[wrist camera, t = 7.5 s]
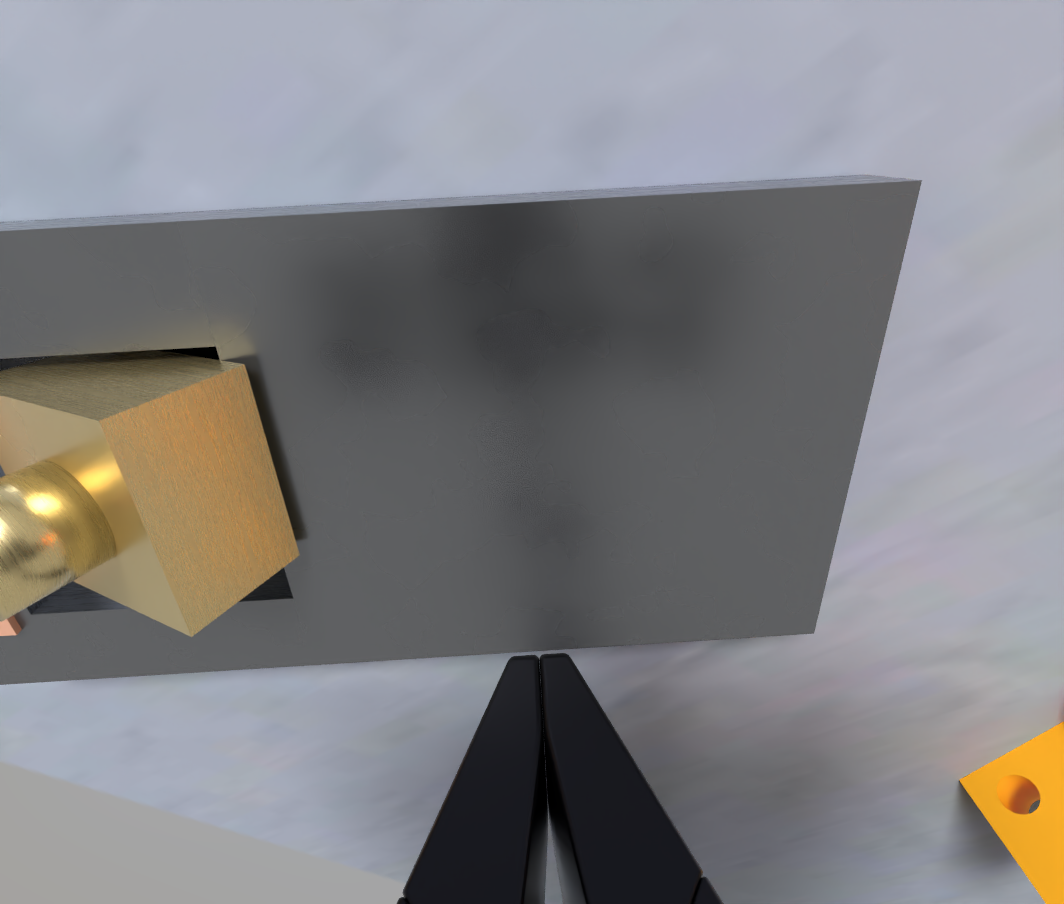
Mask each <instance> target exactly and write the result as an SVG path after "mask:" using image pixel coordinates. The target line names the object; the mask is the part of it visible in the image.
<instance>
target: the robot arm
mask: <svg viewBox="0 0 1064 904" xmlns="http://www.w3.org/2000/svg"><path fill="white" fill-rule="evenodd" d="M539 661H540V667H539ZM540 679H541V683H540ZM541 696H542V699H541ZM542 713H543V715H542ZM543 729H544V732H543ZM544 746H545V749H544ZM545 762H546V767H545ZM546 779H547V784H546ZM547 795H548V802H547ZM548 808H549V819H550V826H551V833H552V840H553V845H554V851H555V857H556V863H557V869H558V874H559V880H560V886H561V892H562V897H563V903H564V904H723V902H722V901H721V899H720V897H719V896H718V894H717V893H716V891H715V889H714V888H713V886H712V884H711V883H710V881H709V880H708V878H706V877H702V875H703V871H702V869H701V867H700V866H699V864H698V862H697V861H696V859H695V858H694V856H693V854H692V853H691V851H690V850H689V848H688V846H687V845H686V843H685V841H684V840H683V838H682V837H681V835H680V833H679V832H678V830H677V829H676V827H675V825H674V824H673V822H672V820H671V819H670V817H669V816H668V814H667V812H666V811H665V809H664V808H663V806H662V804H661V803H660V801H659V800H658V798H657V796H656V795H655V793H654V791H653V790H652V788H651V787H650V785H649V783H648V782H647V780H646V779H645V777H644V775H643V774H642V772H641V770H640V769H639V767H638V766H637V764H636V762H635V761H634V759H633V758H632V756H631V754H630V753H629V751H628V749H627V748H626V746H625V745H624V743H623V741H622V740H621V738H620V737H619V735H618V733H617V732H616V730H615V729H614V727H613V725H612V724H611V722H610V720H609V719H608V717H607V716H606V714H605V712H604V711H603V709H602V708H601V706H600V704H599V703H598V701H597V699H596V698H595V696H594V695H593V693H592V691H591V690H590V688H589V687H588V685H587V683H586V682H585V680H584V679H583V677H582V675H581V674H580V672H579V670H578V669H577V667H576V666H575V664H574V662H573V661H572V659H571V658H570V657H569V655H567V654H566V653H557V654H544V655H542V656H541V657H540V660H539V658H538V657H537V656H536V655H526V656H514V657H511V658H510V659H509V661H508V663H507V665H506V667H505V669H504V671H503V673H502V676H501V678H500V680H499V682H498V684H497V686H496V689H495V691H494V693H493V695H492V697H491V700H490V702H489V704H488V706H487V708H486V710H485V713H484V715H483V717H482V719H481V721H480V724H479V726H478V728H477V730H476V732H475V734H474V737H473V739H472V741H471V743H470V745H469V748H468V750H467V752H466V754H465V756H464V758H463V761H462V763H461V765H460V767H459V769H458V772H457V774H456V776H455V778H454V780H453V782H452V785H451V787H450V789H449V791H448V793H447V796H446V798H445V800H444V802H443V804H442V806H441V809H440V811H439V813H438V815H437V817H436V820H435V822H434V824H433V826H432V828H431V830H430V833H429V835H428V837H427V839H426V841H425V844H424V846H423V848H422V850H421V852H420V854H419V857H418V859H417V861H416V863H415V865H414V868H413V870H412V872H411V874H410V876H409V878H408V881H407V883H406V885H405V887H404V889H403V895H404V897H401V898H399V900H398V902H397V904H544V901H545V881H546V861H547V841H548Z"/></svg>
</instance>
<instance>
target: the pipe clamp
mask: <svg viewBox="0 0 1064 904" xmlns="http://www.w3.org/2000/svg"><path fill="white" fill-rule="evenodd" d="M959 781H960V782H961V784H962V785H963V786H964V788H965V789H966V791H967V792H968V794H969V795H970V796H971V798H972V799H973V801H974V802H975V803H976V805H977V806H978V808H979V809H980V811H981V812H982V813H983V815H984V816H985V818H986V819H987V821H988V822H989V823H990V825H991V826H992V828H993V829H994V830H995V832H996V833H997V835H998V836H999V838H1000V839H1001V840H1002V842H1003V843H1004V845H1005V846H1006V847H1007V849H1008V850H1009V852H1010V853H1011V855H1012V856H1013V857H1014V859H1015V860H1016V862H1017V863H1018V864H1019V866H1020V867H1021V869H1022V870H1023V872H1024V873H1025V874H1026V876H1027V877H1028V879H1029V880H1030V881H1031V883H1032V884H1033V886H1034V887H1035V889H1036V890H1037V891H1038V893H1039V894H1040V896H1041V897H1042V898H1043V900H1044V901H1045V903H1046V904H1064V722H1062V723H1060V724H1058V725H1057V726H1055V727H1053V728H1051V729H1049V730H1048V731H1046V732H1044V733H1042V734H1040V735H1039V736H1037V737H1035V738H1033V739H1032V740H1030V741H1028V742H1026V743H1024V744H1023V745H1021V746H1019V747H1017V748H1015V749H1014V750H1012V751H1010V752H1008V753H1007V754H1005V755H1003V756H1001V757H999V758H998V759H996V760H994V761H992V762H990V763H989V764H987V765H985V766H983V767H982V768H980V769H978V770H976V771H974V772H973V773H971V774H969V775H967V776H965V777H964V778H962V779H960V780H959ZM1037 800H1040V804H1039V807H1038V808H1037V809H1036V810H1035V811H1034V812H1032V813H1030V814H1029V809H1030V807H1031V805H1032V804H1033V803H1034V802H1035V801H1037Z"/></svg>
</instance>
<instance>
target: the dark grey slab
mask: <svg viewBox="0 0 1064 904" xmlns="http://www.w3.org/2000/svg"><path fill="white" fill-rule="evenodd" d="M921 181H922V180H913V179H902V178H892V177H882V176H872V175H857V176H839V177H820V178H802V179H784V180H766V181H747V182H729V183H711V184H693V185H675V186H656V187H638V188H620V189H602V190H583V191H565V192H547V193H529V194H510V195H492V196H474V197H456V198H438V199H419V200H401V201H383V202H365V203H346V204H328V205H310V206H292V207H273V208H255V209H237V210H219V211H201V212H182V213H164V214H146V215H128V216H109V217H91V218H73V219H55V220H36V221H18V222H0V359H6V358H23V357H41V356H58V355H75V354H93V353H110V352H128V351H145V350H163V349H180V348H198V347H215V346H216V349H217V352H218V356H219V359H220V360H221V361H227V362H233V363H239V364H245V367H246V370H247V374H248V377H249V381H250V384H251V388H252V391H253V395H254V398H255V402H256V405H257V409H258V412H259V416H260V419H261V422H262V426H263V429H264V433H265V436H266V440H267V443H268V447H269V450H270V454H271V457H272V461H273V464H274V468H275V471H276V475H277V478H278V482H279V485H280V488H281V492H282V495H283V499H284V502H285V506H286V509H287V513H288V516H289V520H290V523H291V527H292V530H293V534H294V537H295V541H296V544H297V547H298V551H299V554H300V555H299V556H298V557H297V558H295V559H294V560H293V561H291V562H290V563H289V564H287V565H286V566H285V567H284V568H282V569H281V570H280V571H278V572H277V573H276V574H274V575H273V576H272V577H270V578H269V579H268V580H266V581H265V582H264V583H262V584H261V585H260V586H258V587H257V588H256V589H254V590H253V591H252V592H250V593H249V594H248V595H246V596H245V597H244V598H243V599H241V600H240V601H239V602H237V603H236V604H235V605H233V606H232V607H231V608H229V609H228V610H227V611H225V612H224V613H223V614H221V615H220V616H219V617H217V618H216V619H215V620H213V621H212V622H211V623H209V624H208V625H207V626H205V627H204V628H203V629H202V630H200V631H199V632H198V633H196V634H195V635H194V636H192V637H190V636H188V635H186V634H184V633H182V632H180V631H178V630H175V629H173V628H171V627H169V626H167V625H165V624H163V623H161V622H159V621H156V620H154V619H152V618H150V617H148V616H146V615H144V614H142V613H139V612H137V611H135V610H133V609H131V608H129V607H127V606H125V605H122V604H120V603H118V602H116V601H114V600H112V599H110V598H108V597H105V596H103V595H101V594H99V593H97V592H95V591H93V590H91V589H88V588H86V587H84V586H82V585H80V584H78V583H76V582H74V581H72V582H70V583H68V584H67V585H65V586H63V587H62V588H60V589H58V590H56V591H55V592H53V593H51V594H49V595H48V596H46V597H44V598H42V599H41V600H39V601H37V602H35V603H34V604H32V605H30V606H28V607H27V608H25V609H23V610H21V611H20V612H18V613H16V614H15V615H13V616H11V617H9V618H8V619H6V620H4V621H1V622H0V685H4V684H20V683H36V682H52V681H68V680H83V679H99V678H115V677H131V676H147V675H163V674H179V673H194V672H210V671H226V670H242V669H258V668H274V667H290V666H305V665H321V664H337V663H353V662H369V661H385V660H401V659H417V658H432V657H448V656H464V655H480V654H496V653H512V652H528V651H543V650H559V649H575V648H591V647H607V646H623V645H639V644H655V643H670V642H686V641H702V640H718V639H734V638H750V637H766V636H781V635H797V634H813V633H814V631H815V627H816V622H817V618H818V614H819V610H820V606H821V601H822V597H823V593H824V589H825V585H826V580H827V576H828V572H829V568H830V564H831V559H832V555H833V551H834V547H835V543H836V538H837V534H838V530H839V526H840V522H841V517H842V513H843V509H844V505H845V501H846V496H847V492H848V488H849V484H850V480H851V475H852V471H853V467H854V463H855V459H856V454H857V450H858V446H859V442H860V438H861V433H862V429H863V425H864V421H865V417H866V412H867V408H868V404H869V400H870V396H871V391H872V387H873V383H874V379H875V375H876V370H877V366H878V362H879V358H880V354H881V349H882V345H883V341H884V337H885V333H886V328H887V324H888V320H889V316H890V312H891V307H892V303H893V299H894V295H895V291H896V286H897V282H898V278H899V274H900V270H901V265H902V261H903V257H904V253H905V249H906V244H907V240H908V236H909V232H910V228H911V223H912V219H913V215H914V211H915V207H916V202H917V198H918V194H919V190H920V186H921ZM2 476H5V473H4V471H3V469H2V467H1V465H0V477H2Z"/></svg>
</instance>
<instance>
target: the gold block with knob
mask: <svg viewBox="0 0 1064 904" xmlns="http://www.w3.org/2000/svg"><path fill="white" fill-rule="evenodd" d="M0 465H1V467H2V469H3V471H4V473H5V476H2V477H0V622H1V621H4V620H6V619H8V618H9V617H11V616H13V615H15V614H16V613H18V612H20V611H21V610H23V609H25V608H27V607H28V606H30V605H32V604H34V603H35V602H37V601H39V600H41V599H42V598H44V597H46V596H48V595H49V594H51V593H53V592H55V591H56V590H58V589H60V588H62V587H63V586H65V585H67V584H68V583H70V582H72V581H74V582H76V583H78V584H80V585H82V586H84V587H86V588H88V589H91V590H93V591H95V592H97V593H99V594H101V595H103V596H105V597H108V598H110V599H112V600H114V601H116V602H118V603H120V604H122V605H125V606H127V607H129V608H131V609H133V610H135V611H137V612H139V613H142V614H144V615H146V616H148V617H150V618H152V619H154V620H156V621H159V622H161V623H163V624H165V625H167V626H169V627H171V628H173V629H175V630H178V631H180V632H182V633H184V634H186V635H188V636H190V637H192V636H194V635H195V634H196V633H198V632H199V631H200V630H202V629H203V628H204V627H205V626H207V625H208V624H209V623H211V622H212V621H213V620H215V619H216V618H217V617H219V616H220V615H221V614H223V613H224V612H225V611H227V610H228V609H229V608H231V607H232V606H233V605H235V604H236V603H237V602H239V601H240V600H241V599H243V598H244V597H245V596H246V595H248V594H249V593H250V592H252V591H253V590H254V589H256V588H257V587H258V586H260V585H261V584H262V583H264V582H265V581H266V580H268V579H269V578H270V577H272V576H273V575H274V574H276V573H277V572H278V571H280V570H281V569H282V568H284V567H285V566H286V565H287V564H289V563H290V562H291V561H293V560H294V559H295V558H297V557H298V556H299V555H300V554H299V551H298V547H297V544H296V541H295V537H294V534H293V530H292V527H291V523H290V520H289V516H288V513H287V509H286V506H285V502H284V499H283V495H282V492H281V488H280V485H279V482H278V478H277V475H276V471H275V468H274V464H273V461H272V457H271V454H270V450H269V447H268V443H267V440H266V436H265V433H264V429H263V426H262V422H261V419H260V416H259V412H258V409H257V405H256V402H255V398H254V395H253V391H252V388H251V384H250V381H249V377H248V374H247V370H246V367H245V364H239V363H233V362H227V361H221V360H215V359H209V358H203V357H197V356H191V355H184V354H178V353H172V352H166V351H160V350H145V351H128V352H110V353H93V354H75V355H58V356H52V357H49V358H45V359H42V360H38V361H35V362H31V363H28V364H24V365H21V366H17V367H14V368H10V369H7V370H3V371H0Z"/></svg>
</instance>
